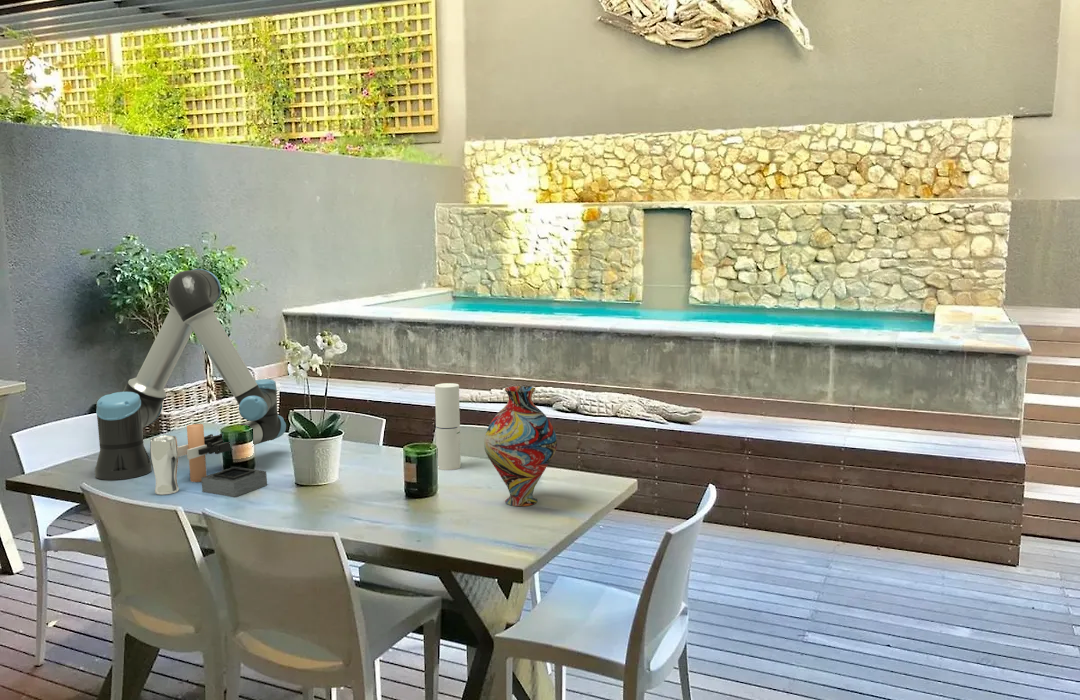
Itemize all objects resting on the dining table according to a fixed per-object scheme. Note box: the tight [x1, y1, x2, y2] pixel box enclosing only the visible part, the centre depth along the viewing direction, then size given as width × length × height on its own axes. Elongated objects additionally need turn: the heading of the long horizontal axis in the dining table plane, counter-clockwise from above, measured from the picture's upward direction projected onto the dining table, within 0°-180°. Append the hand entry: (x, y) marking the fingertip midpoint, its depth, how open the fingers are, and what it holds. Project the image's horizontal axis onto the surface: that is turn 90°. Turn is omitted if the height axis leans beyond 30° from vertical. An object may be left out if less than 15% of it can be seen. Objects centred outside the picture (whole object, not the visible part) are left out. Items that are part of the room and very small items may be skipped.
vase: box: [483, 385, 558, 507], centre depth 220 cm, size 19×19×30 cm
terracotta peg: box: [186, 423, 208, 483], centre depth 243 cm, size 4×4×16 cm
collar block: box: [201, 466, 268, 498], centre depth 235 cm, size 12×12×4 cm
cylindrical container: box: [434, 382, 462, 471], centre depth 254 cm, size 7×7×25 cm
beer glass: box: [149, 435, 180, 496], centre depth 232 cm, size 7×7×15 cm
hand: (181, 453), depth 238 cm, fingers closed on terracotta peg, 4 cm apart
